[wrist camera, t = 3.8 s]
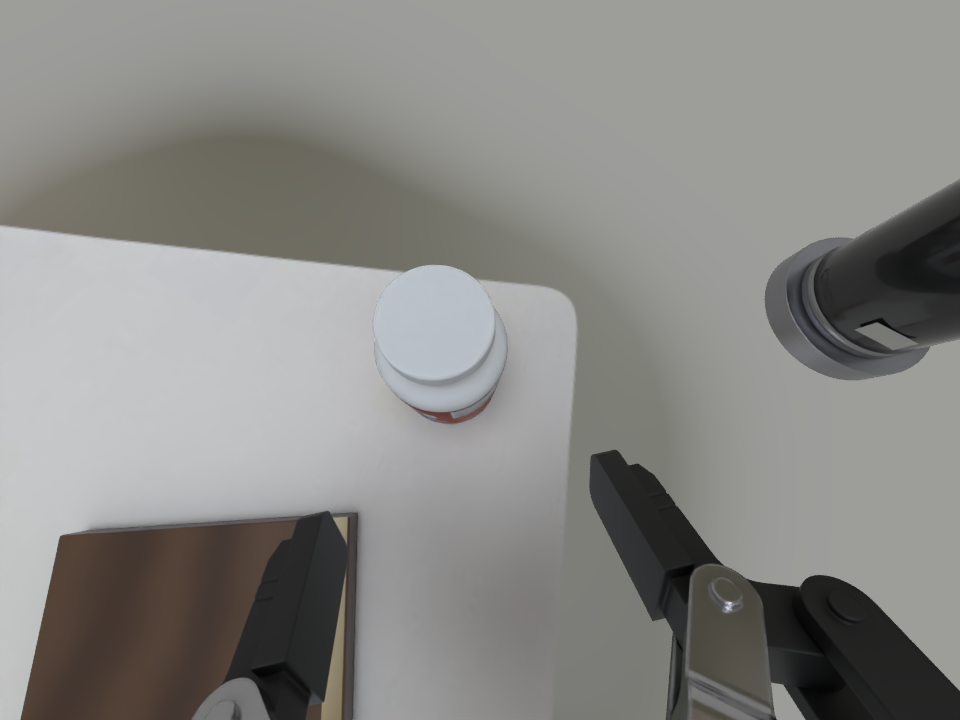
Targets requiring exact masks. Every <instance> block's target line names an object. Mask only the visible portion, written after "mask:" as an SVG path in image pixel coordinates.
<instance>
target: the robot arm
mask: <svg viewBox="0 0 960 720" xmlns="http://www.w3.org/2000/svg"><path fill="white" fill-rule="evenodd" d="M802 299H803V303H804V306H805V309H806V312H807V314H808V316H809V318H810V319H811V321H812V322H813V324H814V325H815V327H816V328H817V329H818V330H819V331H820V333H821V334H822V335H823V336H824V337H826V338H827V339H828V340H829V341H830V342H832V343H833V344H834V345H836V346H838V347H839V348H841V349H843V350H845V351H847V352H849V353H851V354H854V355H857V356H861V357H866V358H874V359H880V358H888V357H892V356H897V355H901V354H905V353H908V352H911V351H913V350H916V349H920V348H924V347H928V346H933V345H937V344H941V343H945V342H950V341H955V340H959V339H960V179H959V180H957V181H955V182H954V183H952V184H950V185H948V186H947V187H945V188H943V189H941V190H940V191H938V192H936V193H934V194H933V195H931V196H929V197H928V198H925V199H924V200H922V201H920V202H918V203H917V204H915V205H913V206H911V207H910V208H908V209H906V210H904V211H902V212H901V213H899V214H897V215H895V216H894V217H892V218H890V219H888V220H887V221H885V222H883V223H881V224H879V225H878V226H876V227H874V228H872V229H870V230H869V231H867V232H865V233H863V234H862V235H860V236H858V237H856V238H855V239H853V240H851V241H849V242H847V243H846V244H844V245H842V246H840V247H837V248H834V249H832V250H831V251H829V252H827V253H825V254H824V255H822V256H820V257H818V258H817V259H816V260H814V261H813V262H812V263H811V265H810V266H809V267H808V269H807V270H806V272H805V274H804V277H803V281H802ZM590 494H591V498H592V501H593V504H594V507H595V509H596V511H597V513H598V514H599V517H600V519H601V520H602V522H603V524H604V526H605V528H606V530H607V532H608V534H609V536H610V538H611V540H612V542H613V544H614V546H615V548H616V550H617V552H618V554H619V556H620V558H621V560H622V562H623V564H624V566H625V568H626V570H627V572H628V574H629V576H630V577H631V579H632V581H633V583H634V585H635V587H636V589H637V591H638V593H639V595H640V597H641V599H642V601H643V603H644V605H645V607H646V609H647V611H648V613H649V615H650V617H651V619H652V621H655V620H659V619H663V618H666V620H667V621H668V623H669V625H670V627H671V629H672V631H673V636H672V649H671V650H672V651H671V662H670V674H669V688H668V700H667V714H666V720H776V717H775V713H774V707H773V698H772V688H771V682H772V683H778V684H783V685H784V687H785V688H786V690H787V691H788V693H789V694H790V696H791V698H792V699H793V701H794V702H795V704H796V705H797V707H798V708H799V710H800V711H801V713H802V715H803V716H804V718H805V719H806V720H960V691H959V690H958V689H957V688H956V687H955V686H954V685H953V684H952V683H951V682H950V680H948V678H947V677H946V676H945V675H944V674H943V673H942V672H941V671H940V670H939V669H938V668H937V667H936V666H935V665H934V664H933V663H932V662H931V661H930V660H929V659H928V657H927V656H926V655H925V654H924V653H923V652H922V651H921V650H920V649H919V648H918V647H917V646H916V645H915V644H914V643H913V642H912V641H911V640H910V639H909V638H908V637H907V636H906V635H905V634H904V632H903V631H902V630H901V629H900V628H899V627H898V626H897V625H896V624H895V623H894V622H893V621H892V620H891V619H890V618H889V617H888V616H887V615H886V614H885V613H884V612H883V611H882V610H881V608H880V607H878V605H877V604H876V603H875V602H873V600H871V599H870V598H869V597H868V596H867V595H866V594H864V593H863V592H862V591H860V590H859V589H857V588H856V587H854V586H852V585H851V584H849V583H847V582H844V581H842V580H840V579H837V578H834V577H830V576H824V575H815V576H811V577H809V578H807V579H805V581H804V582H803V583H802V585H801V586H800V587H794V586H786V585H776V584H767V583H760V582H755V581H752V580H748V579H746V578H744V577H743V576H742V575H740V574H739V573H738V572H736V571H734V570H732V569H730V568H728V567H726V566H724V565H723V564H721V563H720V561H719V560H717V558H716V557H715V556H714V555H713V553H712V552H711V551H710V550H709V548H708V547H707V545H706V544H705V543H704V541H703V540H702V539H701V537H700V536H699V535H698V533H697V532H696V531H695V529H694V528H693V527H692V525H691V524H690V523H689V521H688V520H687V519H686V517H685V516H684V514H683V513H682V512H681V510H680V509H679V508H678V507H676V505H675V503H674V501H673V500H672V498H671V497H670V496H669V494H667V493H666V490H665V489H664V488H663V486H662V485H661V484H660V482H659V481H658V479H657V478H656V477H655V476H654V475H653V474H652V473H650V472H649V471H648V470H646V469H645V468H643V467H642V466H641V465H639V464H634V465H629V466H628V464H627V463H626V461H625V460H624V458H623V457H622V456H621V454H620V453H619V452H618V451H617V450H612V451H607V452H602V453H598V454H593V455H592V456H591V462H590ZM347 559H348V554H347V545H346V542H345V539H344V538H343V536H342V534H341V532H340V530H339V528H338V526H337V525H336V523H335V521H334V519H333V517H332V515H331V514H330V512H328V511H325V512H320V513H315V514H311V515H306V516H302V517H300V518H299V519H298V521H297V523H296V526H295V529H294V532H293V535H292V538H291V539H288V540H283V541H281V543H280V544H279V546H278V547H277V548H276V550H275V551H274V553H273V554H272V555H271V557H270V558H269V560H268V562H267V565H266V568H265V570H264V573H263V576H262V579H261V585H259V587H258V590H257V593H256V595H255V602H254V603H253V604H252V607H251V609H250V612H249V615H248V618H247V620H246V623H245V626H244V629H243V632H242V634H241V637H240V640H239V643H238V646H237V648H236V651H235V654H234V657H233V659H232V662H231V665H230V668H229V670H228V673H227V675H226V677H225V679H224V681H223V683H222V685H221V686H220V687H218V688H217V689H216V690H215V691H213V692H212V693H211V694H210V695H209V696H208V697H207V698H206V700H205V701H204V702H203V703H202V704H201V706H200V707H199V708H198V710H197V711H196V713H195V714H194V716H193V718H192V719H191V720H306V715H307V710H308V706H311V705H315V704H319V703H323V702H324V701H325V695H326V689H327V683H328V677H329V671H330V665H331V659H332V653H333V646H334V640H335V634H336V628H337V622H338V616H339V610H340V604H341V598H342V591H343V585H344V579H345V573H346V567H347Z"/></svg>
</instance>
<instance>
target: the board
mask: <svg viewBox="0 0 960 720" xmlns="http://www.w3.org/2000/svg"><path fill="white" fill-rule="evenodd" d="M331 515H332V517H333V519H334V521H335V523H336V525H337V526H338V528H339V530H340V532H341V534H342V536H343V538H344V539H345V542H346V545H347V554H348V559H347V567H346V573H345V579H344V585H343V591H342V598H341V604H340V610H339V616H338V622H337V628H336V634H335V640H334V646H333V653H332V659H331V665H330V671H329V677H328V683H327V689H326V695H325V701H324V702H323V703H319V704H315V705H311V706H308V710H307V715H306V720H352V711H353V670H354V630H355V589H356V549H357V513H343V514H331ZM300 517H302V516H298V517H283V518H267V519H252V520H237V521H222V522H207V523H192V524H177V525H161V526H146V527H131V528H116V529H101V530H87V531H81V532H76V533H71V534H66V535H62V536H60V539H59V543H58V548H57V552H56V557H55V562H54V566H53V571H52V576H51V580H50V585H49V590H48V594H47V599H46V604H45V608H44V613H43V618H42V622H41V627H40V632H39V636H38V641H37V646H36V650H35V655H34V659H33V664H32V669H31V673H30V678H29V683H28V687H27V692H26V697H25V701H24V706H23V711H22V715H21V720H191V719H192V718H193V716H194V714H195V713H196V711H197V710H198V708H199V707H200V706H201V704H202V703H203V702H204V701H205V700H206V698H207V697H208V696H209V695H210V694H211V693H212V692H213V691H215V690H216V689H217V688H218V687H220V686H221V685H222V683H223V681H224V679H225V677H226V675H227V673H228V670H229V668H230V665H231V662H232V659H233V657H234V654H235V651H236V648H237V646H238V643H239V640H240V637H241V634H242V632H243V629H244V626H245V623H246V620H247V618H248V615H249V612H250V609H251V607H252V604H253V603H254V602H255V595H256V593H257V590H258V587H259V585H261V579H262V576H263V573H264V570H265V568H266V565H267V562H268V560H269V558H270V557H271V555H272V554H273V553H274V551H275V550H276V548H277V547H278V546H279V544H280V543H281V541H283V540H288V539H291V538H292V535H293V532H294V529H295V526H296V523H297V521H298V519H299V518H300Z"/></svg>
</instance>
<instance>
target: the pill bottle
mask: <svg viewBox="0 0 960 720" xmlns="http://www.w3.org/2000/svg"><path fill="white" fill-rule="evenodd" d="M373 332H374V338H375V343H374V353H375V360H376V364H377V367H378V370H379V373H380V375H381V377H382V378H383V380H384V382H385V383H386V385H387V386H388V387H389V388H390V389H391V391H392V392H393V393H394V394H395V395H396V396H397V397H399V398H400V399H401V400H402V401H404V402H405V403H406V404H408V405H409V406H410V407H411V408H413V409H414V410H415V411H417V412H418V413H419V414H421V415H422V416H424V417H425V418H427V419H430V420H432V421H435V422H439V423H444V424H455V423H460V422H464V421H467V420H469V419H471V418H473V417H475V416H476V415H477V414H479V413H480V412H481V411H482V410H483V409H484V408H485V407H486V406H487V404H488V403H489V401H490V400H491V398H492V396H493V394H494V391H495V388H496V386H497V384H498V381H499V378H500V376H501V374H502V371H503V369H504V366H505V362H506V357H507V349H508V343H507V334H506V330H505V327H504V324H503V322H502V319H501V318H500V316H499V314H498V312H497V311H496V310H495V308H494V306H493V304H492V301H491V299H490V297H489V295H488V293H487V292H486V290H485V289H484V287H483V286H482V285H481V284H480V283H479V282H478V281H477V280H476V279H474V278H473V277H472V276H470V275H469V274H467V273H465V272H464V271H462V270H459V269H456V268H454V267H449V266H444V265H427V266H421V267H418V268H414V269H411V270H409V271H407V272H405V273H403V274H401V275H400V276H398V277H397V278H396V279H394V280H393V281H392V282H391V283H390V284H389V285H388V286H387V287H386V289H385V290H384V291H383V293H382V294H381V296H380V298H379V300H378V302H377V304H376V308H375V311H374V317H373Z"/></svg>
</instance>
